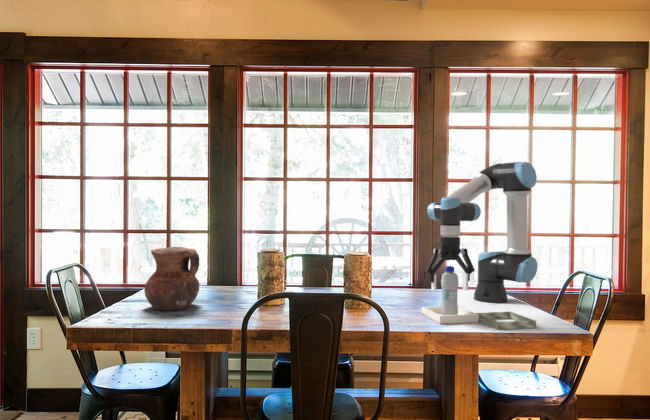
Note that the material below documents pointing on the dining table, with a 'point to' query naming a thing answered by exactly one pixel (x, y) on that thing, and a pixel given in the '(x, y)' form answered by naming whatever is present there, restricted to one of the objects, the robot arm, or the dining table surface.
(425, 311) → the cream dish
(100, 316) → the dining table surface
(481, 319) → the rim
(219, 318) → the dining table surface
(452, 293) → the bottle
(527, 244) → the robot arm
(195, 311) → the dining table surface
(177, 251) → the jug
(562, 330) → the dining table surface
